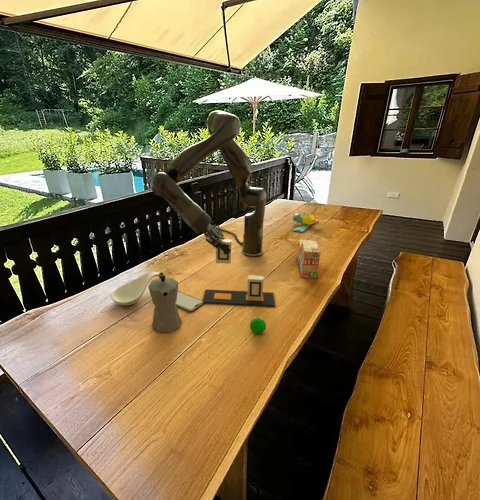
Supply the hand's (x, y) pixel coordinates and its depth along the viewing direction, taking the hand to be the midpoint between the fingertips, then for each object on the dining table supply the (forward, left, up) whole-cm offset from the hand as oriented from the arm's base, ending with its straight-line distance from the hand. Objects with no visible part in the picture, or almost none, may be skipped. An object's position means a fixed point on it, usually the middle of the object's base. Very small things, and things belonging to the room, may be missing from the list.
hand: (229, 250), depth 110 cm
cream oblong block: (-1, -2, -5) cm, 5 cm away
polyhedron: (+25, -2, -18) cm, 31 cm away
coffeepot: (+8, -27, -18) cm, 34 cm away
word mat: (+5, +2, -18) cm, 19 cm away
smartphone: (-2, -19, -18) cm, 26 cm away
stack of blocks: (-6, +42, -18) cm, 46 cm away
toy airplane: (-54, +82, -18) cm, 100 cm away
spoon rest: (-13, -32, -18) cm, 39 cm away
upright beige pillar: (+8, +7, -17) cm, 20 cm away
